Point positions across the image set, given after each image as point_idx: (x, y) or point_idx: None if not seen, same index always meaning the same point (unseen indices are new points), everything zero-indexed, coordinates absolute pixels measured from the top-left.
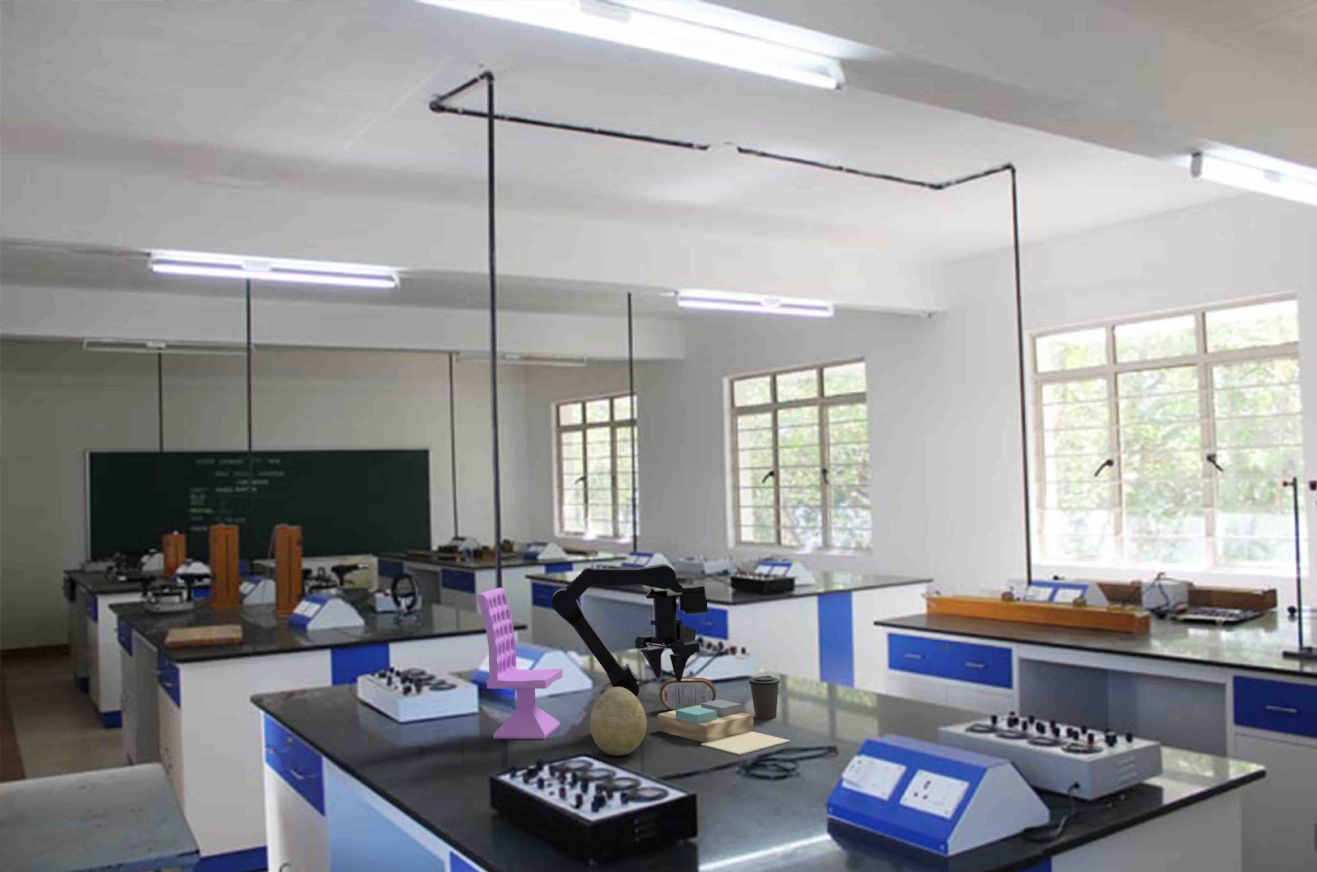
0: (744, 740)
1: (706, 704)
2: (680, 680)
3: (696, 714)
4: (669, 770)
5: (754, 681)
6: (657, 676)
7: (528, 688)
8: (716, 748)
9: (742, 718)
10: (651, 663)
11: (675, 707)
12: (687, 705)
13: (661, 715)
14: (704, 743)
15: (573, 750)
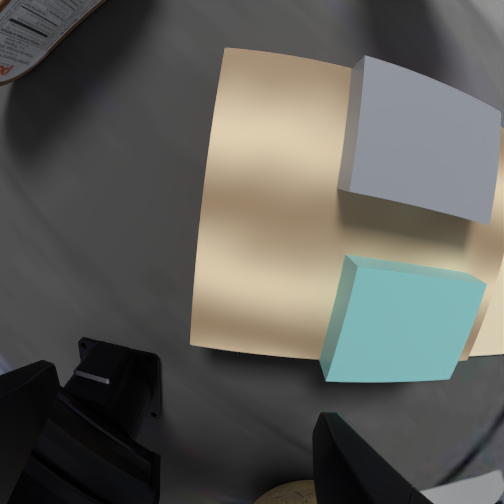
0: None
1: (392, 200)
2: (334, 417)
3: (442, 375)
4: (436, 472)
5: None
6: (55, 391)
7: None
8: (477, 354)
9: None
10: (12, 490)
11: (43, 50)
12: (73, 15)
13: (219, 348)
14: None
15: (195, 500)
